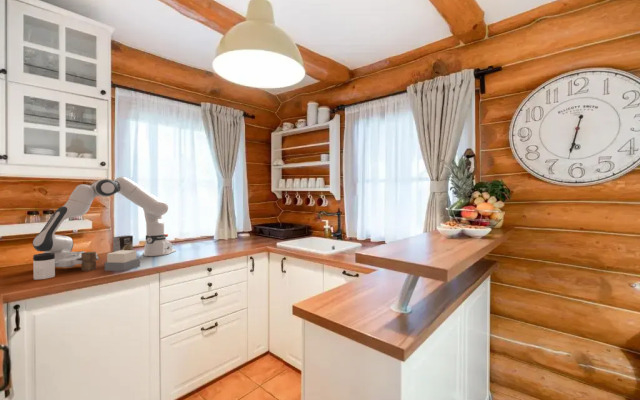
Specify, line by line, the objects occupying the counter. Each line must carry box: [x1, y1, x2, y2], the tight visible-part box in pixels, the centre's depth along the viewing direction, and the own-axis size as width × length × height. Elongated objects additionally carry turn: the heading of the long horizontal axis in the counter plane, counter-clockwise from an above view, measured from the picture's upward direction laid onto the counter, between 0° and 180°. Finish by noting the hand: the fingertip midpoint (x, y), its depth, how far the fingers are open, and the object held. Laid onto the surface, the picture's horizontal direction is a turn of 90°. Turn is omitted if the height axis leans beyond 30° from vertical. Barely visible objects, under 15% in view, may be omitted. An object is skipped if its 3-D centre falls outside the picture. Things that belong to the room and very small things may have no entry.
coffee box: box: [112, 235, 134, 252], centre depth 183 cm, size 9×6×16 cm
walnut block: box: [80, 251, 97, 272], centre depth 161 cm, size 4×4×10 cm
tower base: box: [104, 257, 141, 272], centre depth 166 cm, size 12×12×5 cm
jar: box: [32, 252, 56, 281], centre depth 147 cm, size 9×8×12 cm
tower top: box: [106, 249, 138, 263], centre depth 165 cm, size 10×10×5 cm
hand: (90, 260), depth 161 cm, fingers open, 8 cm apart
